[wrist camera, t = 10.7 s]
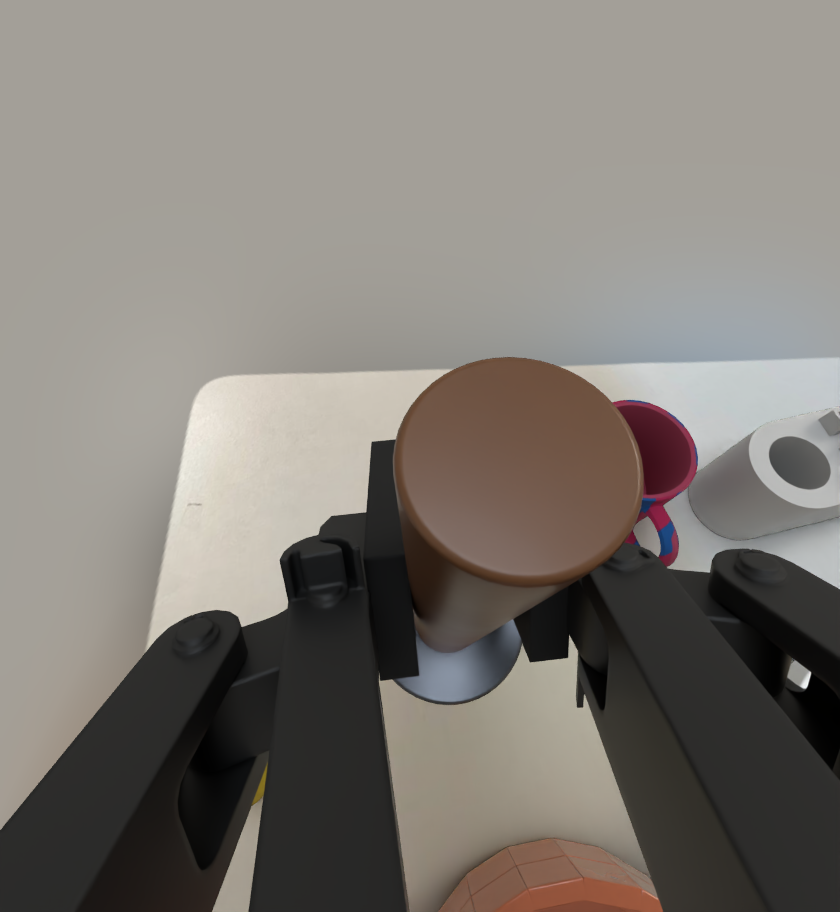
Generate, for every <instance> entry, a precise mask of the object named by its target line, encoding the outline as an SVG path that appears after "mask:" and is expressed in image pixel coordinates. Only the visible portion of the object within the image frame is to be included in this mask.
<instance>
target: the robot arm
mask: <svg viewBox="0 0 840 912" xmlns="http://www.w3.org/2000/svg"><path fill="white" fill-rule="evenodd" d="M395 441H396V440H386V441H376V442H372V445H371V458H370V472H369V485H368V499H367V512H366V513H356V514H347V515H338V516H331V517H330V518H329V519H328V520H327V521H326V522H325V523H324V524H323V525H322V526H321V527H320V531H319V535H316V536H312V537H309V538H305V539H303V540H301V541H299V542H297V543H295V544H293V545H292V546H290V547H289V548H288V549H287V550H286V551H284V553H283V555H282V556H281V558H280V564H281V569H282V574H283V578H284V583H285V588H286V592H287V597H288V609H286V610H285V611H283V612H281V613H279V614H278V615H276V616H273V617H271V618H268V619H266V620H263V621H260V622H257V623H254V624H251V625H248V626H245V627H241V624H240V621H239V619H238V617H237V616H236V615H234V614H232V613H231V612H228V611H220V610H214V611H207V612H201V613H198V614H194V615H193V616H192V615H191V616H189V617H187V618H184V619H183V620H181V621H179V622H178V623H176V624H174V625H173V626H171V627H169V628H168V629H167V630H166V631H165V632H164V633H163V634H162V635H160V636H159V637H158V638H157V639H156V641H155V642H154V643H153V644H152V645H151V647H150V648H149V649H148V650H147V652H146V653H145V654H144V655H143V656H142V658H141V659H140V660H139V662H138V663H137V664H136V665H135V666H134V667H133V669H132V670H131V671H130V672H129V674H128V675H127V676H126V677H125V678H124V680H123V681H122V682H121V683H120V685H119V686H118V687H117V688H116V690H115V691H114V692H113V693H112V694H111V696H110V697H109V698H108V699H107V701H106V702H105V703H104V704H103V706H102V707H101V708H100V709H99V710H98V711H97V713H96V714H95V715H94V717H93V718H92V719H91V720H90V721H89V722H88V724H87V725H86V726H85V727H84V729H83V730H82V731H81V732H80V733H79V735H78V736H77V737H76V738H75V740H74V741H73V742H72V743H71V745H70V746H69V747H68V748H67V749H66V751H65V752H64V753H63V754H62V756H61V757H60V758H59V759H58V760H57V762H56V763H55V764H54V765H53V767H52V768H51V769H50V770H49V771H48V773H47V774H46V775H45V776H44V778H43V779H42V780H41V781H40V783H39V784H38V785H37V786H36V787H35V789H34V790H33V791H32V792H31V793H30V795H29V796H28V797H27V798H26V800H25V801H24V802H23V803H22V804H21V806H20V807H19V808H18V809H17V811H16V812H15V813H14V814H13V815H12V817H11V818H10V819H9V820H8V822H7V823H6V824H5V825H4V826H3V828H2V829H1V830H0V912H212V910H213V907H214V905H215V902H216V899H217V897H218V894H219V891H220V889H221V886H222V883H223V881H224V878H225V875H226V873H227V870H228V867H229V865H230V862H231V859H232V857H233V854H234V851H235V849H236V846H237V843H238V841H239V838H240V835H241V832H242V830H243V827H244V824H245V822H246V819H247V816H248V814H249V811H250V808H251V806H252V803H253V800H254V798H255V795H256V792H257V790H258V787H259V784H260V782H261V779H262V776H263V774H264V771H265V768H266V766H267V773H266V781H265V789H264V796H263V804H262V812H261V820H260V828H259V835H258V843H257V851H256V859H255V867H254V874H253V882H252V890H251V898H250V906H249V912H409V904H408V897H407V889H406V882H405V874H404V867H403V859H402V852H401V844H400V837H399V829H398V822H397V814H396V806H395V799H394V791H393V784H392V776H391V769H390V761H389V754H388V746H387V739H386V731H385V723H384V716H383V708H382V701H381V694H380V687H379V674H380V681H383V680H391V679H399V678H407V677H415V676H419V665H418V655H417V644H416V634H415V623H414V613H413V604H412V596H411V589H410V584H409V579H408V573H407V566H406V559H405V552H404V545H403V538H402V531H401V524H400V517H399V510H398V503H397V496H396V489H395V482H394V475H393V454H394V445H395ZM513 620H514V623H515V625H516V628H517V630H518V633H519V636H520V638H521V641H522V643H523V646H524V648H525V651H526V653H527V656H528V658H529V661H530V662H538V661H546V660H554V659H562V658H568V647H569V635H570V637H571V639H572V641H573V642H574V644H575V646H576V648H577V650H578V667H577V689H576V701H577V708H581V707H583V700H584V694H585V696H586V698H587V701H588V704H589V707H590V710H591V712H592V715H593V718H594V721H595V723H596V726H597V729H598V732H599V735H600V737H601V740H602V743H603V746H604V748H605V751H606V754H607V757H608V760H609V762H610V765H611V768H612V771H613V773H614V776H615V779H616V782H617V785H618V787H619V790H620V793H621V796H622V798H623V801H624V804H625V807H626V810H627V812H628V815H629V818H630V821H631V823H632V826H633V829H634V832H635V834H636V837H637V840H638V843H639V846H640V848H641V851H642V854H643V857H644V859H645V862H646V865H647V868H648V871H649V873H650V876H651V879H652V882H653V884H654V887H655V890H656V893H657V896H658V898H659V901H660V904H661V907H662V909H663V912H840V589H838V588H836V587H834V586H833V585H831V584H829V583H827V582H826V581H824V580H822V579H820V578H819V577H817V576H815V575H813V574H811V573H810V572H808V571H806V570H804V569H803V568H801V567H799V566H797V565H795V564H794V563H792V562H790V561H787V560H785V559H783V558H781V557H778V556H776V555H772V554H769V553H765V552H763V551H760V550H754V549H752V550H750V549H731V550H725V551H722V552H720V553H717V554H716V555H715V557H714V558H713V560H712V564H711V570H710V573H707V572H694V571H682V570H673V569H668V568H667V567H666V566H665V565H664V563H663V562H662V561H661V560H660V559H659V558H658V557H657V556H656V555H655V554H653V553H652V552H651V551H649V550H647V549H645V548H643V547H640V546H638V545H634V544H630V543H625V542H624V543H623V545H622V546H621V548H620V549H619V550H618V551H617V552H616V553H615V554H614V555H613V556H612V557H611V558H610V559H609V560H608V561H606V562H605V563H604V564H602V565H601V566H599V567H598V568H597V569H595V570H594V571H592V572H590V573H589V574H587V575H585V576H584V577H582V578H581V579H579V580H577V581H576V582H574V583H572V584H571V585H569V586H567V587H566V588H564V589H562V590H561V591H559V592H557V593H556V594H554V595H552V596H551V597H549V598H547V599H546V600H544V601H542V602H541V603H539V604H537V605H536V606H534V607H532V608H531V609H529V610H527V611H526V612H524V613H522V614H521V615H519V616H517V617H516V618H514V619H513ZM792 658H793V659H794V660H796V661H797V662H798V663H799V664H801V665H802V666H803V667H805V668H806V669H807V670H809V671H810V672H811V675H810V679H809V683H808V686H807V688H806V689H805V688H802V687H800V686H798V685H797V684H795V683H794V682H793V681H791V680H790V679H789V678H788V677H787V676H788V672H789V668H790V664H791V660H792ZM267 763H268V765H267Z"/></svg>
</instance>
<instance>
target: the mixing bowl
mask: <svg viewBox="0 0 840 912" xmlns="http://www.w3.org/2000/svg"><path fill="white" fill-rule="evenodd" d="M438 912H663V909H662V907H661V904H660V901H659V898H658V896H657V893H656V890H655V887H654V884H653V882H652V880H651V879H650V878H649V877H648V876H646V875H645V874H644V873H642V872H640V871H639V870H637V869H635V868H634V867H632V866H630V865H629V864H627V863H625V862H624V861H622V860H620V859H618V858H617V857H615V856H613V855H612V854H610V853H608V852H607V851H605V850H603V849H602V848H599V847H596V846H591V845H586V844H581V843H576V842H571V841H566V840H560V839H555V838H549V839H544V840H539V841H534V842H529V843H524V844H519V845H514V846H509V847H507V848H505V849H503V850H502V851H500V852H499V853H497V854H496V855H494V856H493V857H491V858H490V859H488V860H487V861H485V862H484V863H482V864H481V865H479V866H478V867H476V868H475V869H473V870H472V871H470V872H469V873H467V874H466V876H464V878H463V879H462V880H461V882H460V883H459V884H458V886H457V887H456V889H455V890H454V891H453V893H452V894H451V895H450V897H449V898H448V899H447V901H446V902H445V903H444V905H443V906H442V907H441V909H440V910H439V911H438Z"/></svg>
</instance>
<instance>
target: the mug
mask: <svg viewBox="0 0 840 912" xmlns="http://www.w3.org/2000/svg"><path fill="white" fill-rule="evenodd" d="M613 404H614V405H615V406H616V407H617V409H618V410H619V411H620V413H621V414H622V415H623V417H624V418H625V420H626V422H627V423H628V425H629V427H630V428H631V430H632V432H633V435H634V437H635V439H636V442H637V444H638V447H639V451H640V455H641V458H642V465H643V473H644V486H643V498H642V504H641V509H640V512H639V515H638V518H637V521H636V523H638V522H639V521H641V520H642V519H643V518H645V517H646V516H648V517H649V518H650V519H651V521H652V522H653V524H654V525H655V528H656V530H657V532H658V535H659V538H660V544H661V552H660V555H659V557H658V558H659V559H660V560H661V561H662V562H663V563H664V565H665V566H666V567H667V566H670V565H671V564H672V563H673V562H674V561H675V559H676V558H677V555H678V549H679V541H678V536H677V533H676V530H675V527H674V525H673V523H672V521H671V519H670V517H669V516H668V514H667V512H666V511H665V509H664V507H663V505H664V504H665V503H667V502H668V501H670V500H671V499H673V498H674V497H675V496H677V495H678V494H680V493H681V492H682V491H684V490H685V489H686V488H687V487H688V486H689V485H690V483H691V482H692V480H693V478H694V476H695V474H696V470H697V465H698V456H697V450H696V447H695V444H694V441H693V439H692V437H691V435H690V434H689V432H688V431H687V429H686V428H685V427H684V425H683V424H682V423H681V422H680V421H679V420H678V419H677V418H676V417H674V416H673V415H672V414H670V413H669V412H667V411H666V410H664V409H662V408H660V407H658V406H655V405H653V404H650V403H647V402H642V401H635V400H623V401H617V402H613ZM636 523H635V524H636ZM625 543H630V544H634V545H638V546H640V545H639V543H638V541H637V539H636V537H635V535H634V532H633V529H632V531H631V533H630V535H629V537H628V538H627V539H626V541H625Z"/></svg>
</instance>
